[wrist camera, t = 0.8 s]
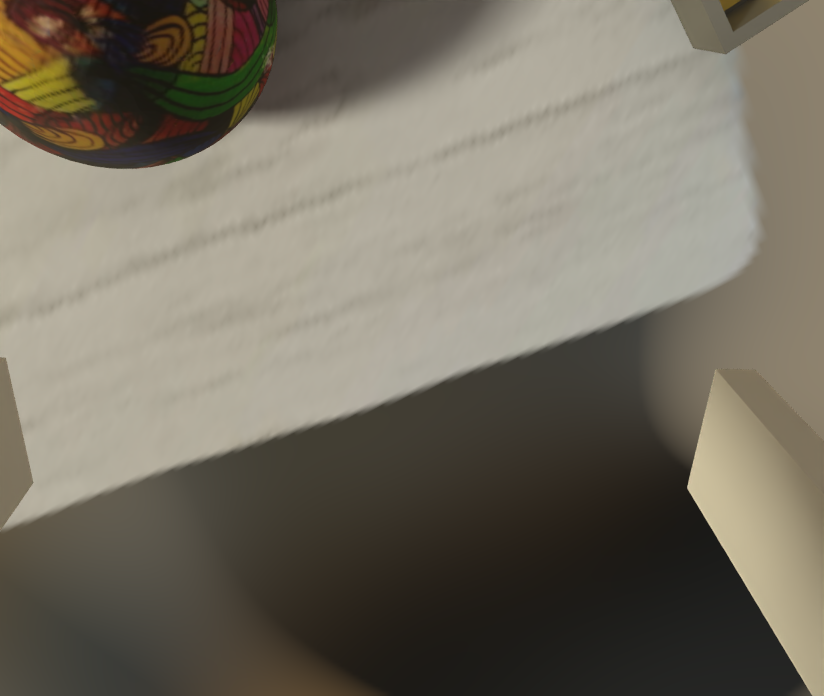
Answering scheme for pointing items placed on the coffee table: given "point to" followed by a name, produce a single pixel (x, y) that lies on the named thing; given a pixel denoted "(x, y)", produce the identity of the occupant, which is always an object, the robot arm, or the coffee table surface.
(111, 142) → the egg
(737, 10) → the tray
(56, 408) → the coffee table surface
